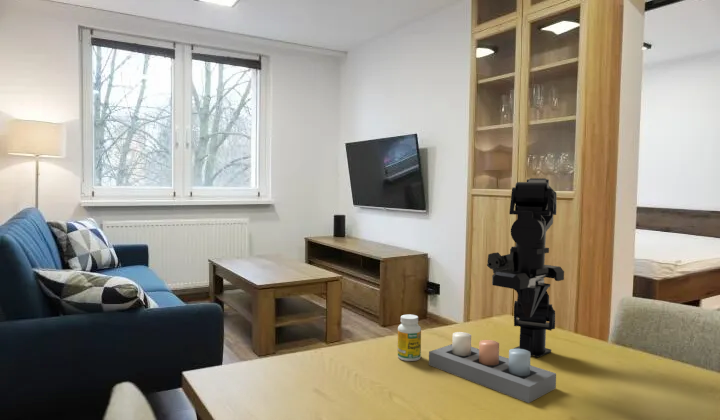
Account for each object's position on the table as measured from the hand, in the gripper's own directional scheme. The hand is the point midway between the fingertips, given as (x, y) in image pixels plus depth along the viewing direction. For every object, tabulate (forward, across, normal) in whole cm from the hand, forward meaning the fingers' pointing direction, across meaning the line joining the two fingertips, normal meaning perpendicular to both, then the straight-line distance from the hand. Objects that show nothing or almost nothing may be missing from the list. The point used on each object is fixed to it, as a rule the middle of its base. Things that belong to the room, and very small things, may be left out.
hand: (528, 317), depth 99 cm
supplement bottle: (+13, +11, -23) cm, 29 cm away
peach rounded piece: (+9, +6, -5) cm, 12 cm away
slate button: (+9, +6, +2) cm, 12 cm away
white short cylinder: (+9, +6, -12) cm, 16 cm away
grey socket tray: (+12, +6, -5) cm, 15 cm away
